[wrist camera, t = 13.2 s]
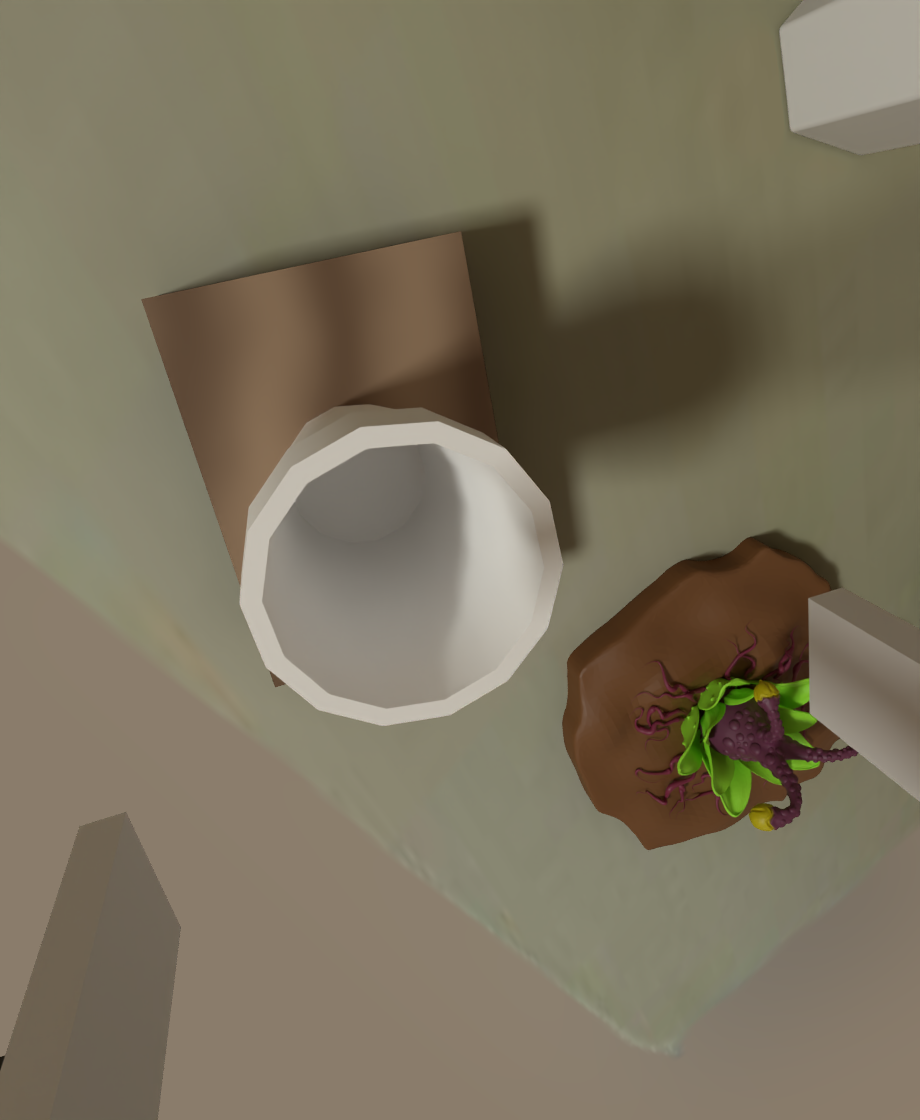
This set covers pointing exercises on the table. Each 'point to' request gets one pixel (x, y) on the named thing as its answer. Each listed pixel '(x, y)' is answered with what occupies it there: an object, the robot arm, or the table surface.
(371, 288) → the walnut shelf stand
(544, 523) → the foam cup
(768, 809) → the plant
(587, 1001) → the table surface
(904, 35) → the jar
